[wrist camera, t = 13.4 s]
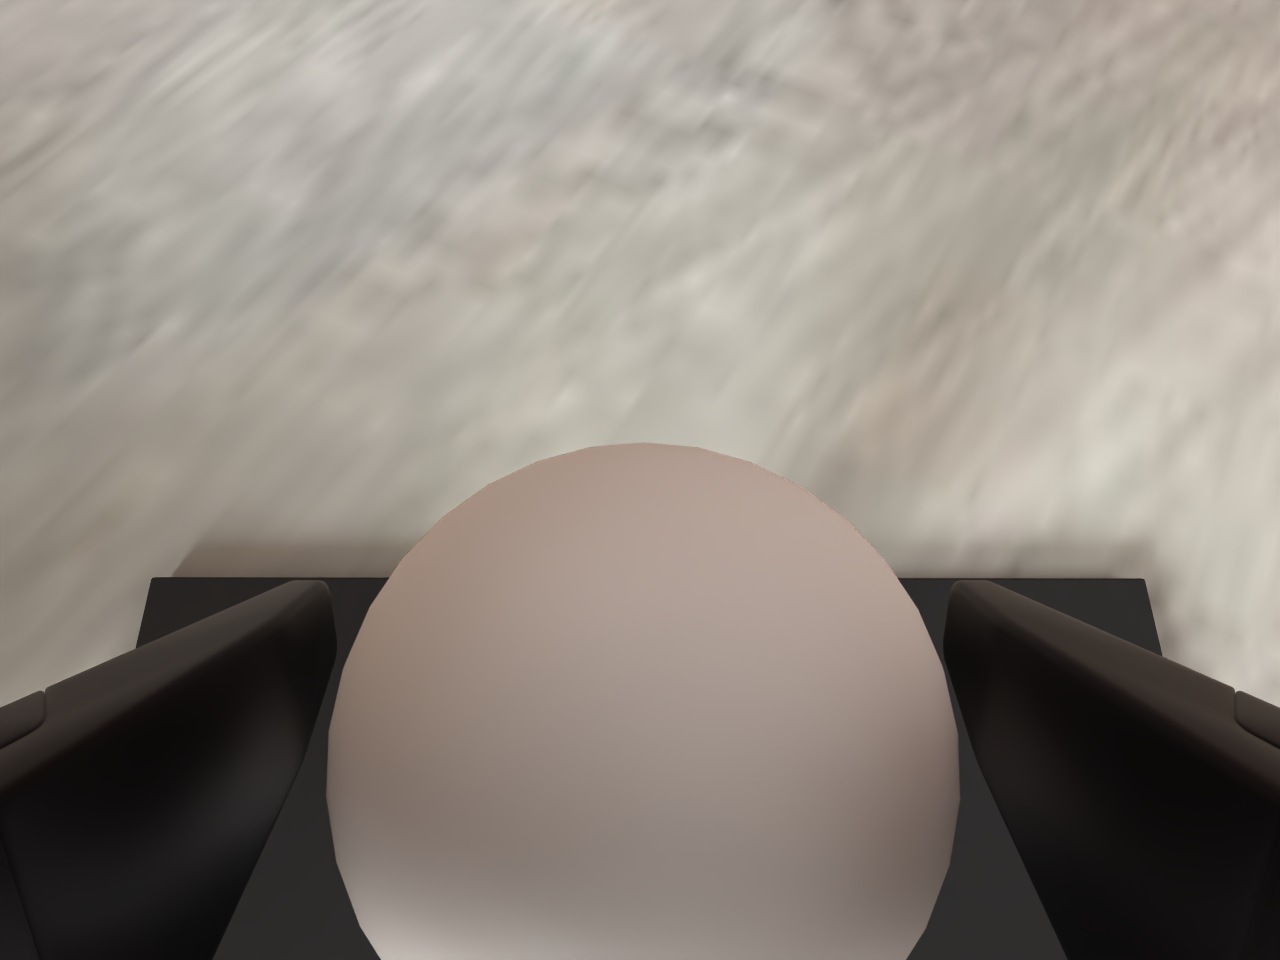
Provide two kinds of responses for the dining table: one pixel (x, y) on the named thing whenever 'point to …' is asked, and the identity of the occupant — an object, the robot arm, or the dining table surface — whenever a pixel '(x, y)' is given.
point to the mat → (323, 913)
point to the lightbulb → (643, 726)
